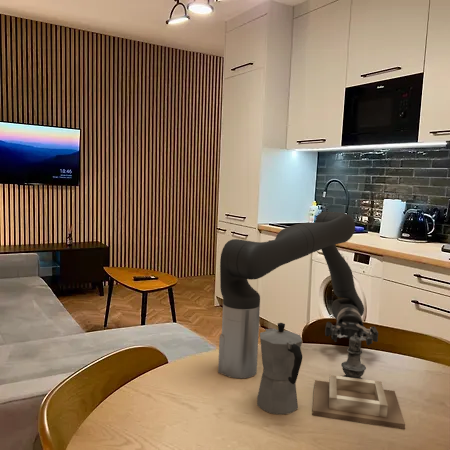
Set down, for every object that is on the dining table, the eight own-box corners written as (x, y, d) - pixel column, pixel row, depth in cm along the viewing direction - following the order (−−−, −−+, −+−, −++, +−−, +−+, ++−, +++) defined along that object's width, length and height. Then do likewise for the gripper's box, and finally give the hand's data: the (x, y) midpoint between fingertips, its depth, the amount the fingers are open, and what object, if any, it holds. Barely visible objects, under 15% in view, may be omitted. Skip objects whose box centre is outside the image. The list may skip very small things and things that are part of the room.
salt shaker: (341, 383, 108) (344, 335, 107) (339, 373, 114) (342, 327, 112) (366, 386, 107) (370, 337, 106) (363, 376, 113) (366, 329, 112)
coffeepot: (245, 392, 101) (249, 315, 99) (283, 388, 104) (287, 312, 103) (275, 428, 87) (279, 338, 85) (317, 422, 90) (322, 335, 88)
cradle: (312, 415, 92) (313, 398, 92) (314, 384, 107) (315, 370, 107) (404, 429, 88) (406, 412, 88) (394, 395, 103) (395, 380, 103)
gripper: (326, 308, 137) (325, 323, 121) (375, 312, 134) (381, 329, 118) (324, 331, 138) (324, 350, 122) (373, 337, 134) (379, 356, 119)
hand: (352, 340), depth 120 cm, fingers open, 8 cm apart
